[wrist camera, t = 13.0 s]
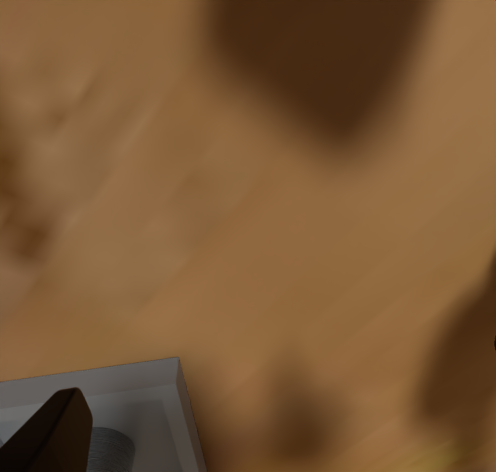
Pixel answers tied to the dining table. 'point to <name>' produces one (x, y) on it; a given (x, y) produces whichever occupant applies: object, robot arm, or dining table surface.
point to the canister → (110, 451)
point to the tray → (121, 410)
